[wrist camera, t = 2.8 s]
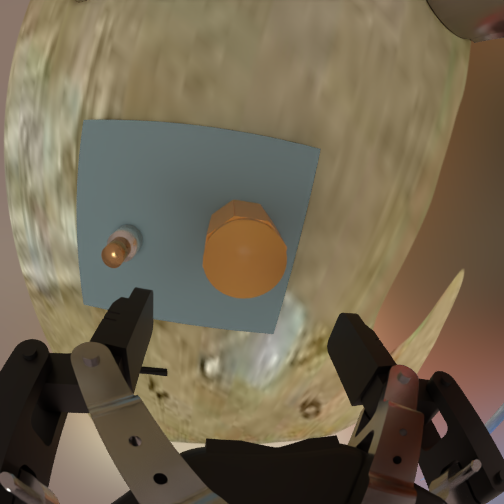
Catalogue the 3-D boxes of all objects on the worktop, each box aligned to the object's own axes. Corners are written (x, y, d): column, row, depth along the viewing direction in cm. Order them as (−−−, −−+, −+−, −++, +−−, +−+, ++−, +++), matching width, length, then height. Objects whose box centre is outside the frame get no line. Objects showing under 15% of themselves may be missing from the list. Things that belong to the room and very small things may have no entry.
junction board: (315, 148, 22) (320, 149, 20) (271, 325, 28) (273, 333, 27) (91, 120, 19) (83, 120, 17) (89, 296, 25) (83, 304, 24)
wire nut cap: (278, 207, 22) (295, 229, 16) (265, 265, 24) (276, 302, 18) (214, 196, 21) (208, 215, 15) (205, 256, 23) (198, 293, 17)
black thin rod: (85, 361, 29) (82, 366, 28) (82, 356, 29) (80, 361, 28) (168, 372, 30) (167, 377, 29) (166, 366, 30) (165, 372, 29)
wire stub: (143, 226, 21) (127, 243, 18) (142, 254, 22) (127, 275, 19) (115, 222, 21) (96, 238, 17) (115, 250, 22) (97, 270, 18)
